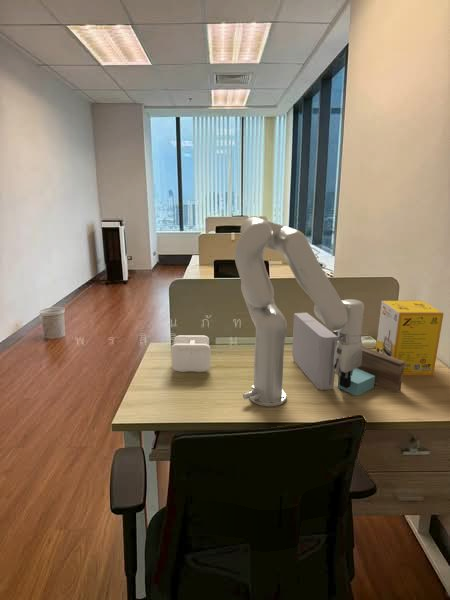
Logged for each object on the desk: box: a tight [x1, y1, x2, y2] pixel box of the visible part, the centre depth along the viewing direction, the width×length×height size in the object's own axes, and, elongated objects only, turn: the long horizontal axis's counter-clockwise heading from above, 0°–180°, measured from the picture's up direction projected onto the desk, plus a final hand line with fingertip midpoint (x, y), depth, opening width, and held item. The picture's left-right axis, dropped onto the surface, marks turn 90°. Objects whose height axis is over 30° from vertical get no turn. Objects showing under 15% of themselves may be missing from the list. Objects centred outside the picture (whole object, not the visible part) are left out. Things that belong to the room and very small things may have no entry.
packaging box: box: [375, 300, 444, 376], centre depth 152 cm, size 16×16×25 cm
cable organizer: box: [170, 334, 212, 373], centre depth 152 cm, size 15×11×12 cm
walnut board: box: [358, 345, 405, 394], centre depth 142 cm, size 3×22×11 cm, turn 37°
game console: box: [291, 312, 338, 391], centre depth 147 cm, size 6×27×20 cm, turn 11°
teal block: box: [337, 368, 375, 397], centre depth 138 cm, size 10×8×5 cm
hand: (344, 386), depth 134 cm, fingers closed
